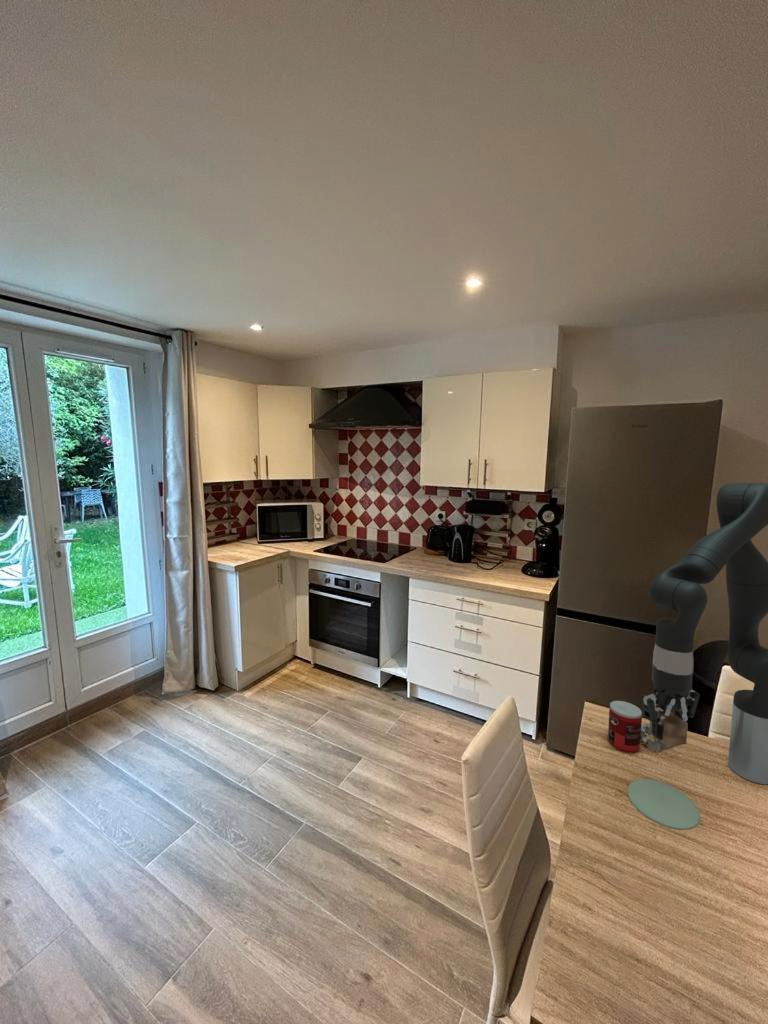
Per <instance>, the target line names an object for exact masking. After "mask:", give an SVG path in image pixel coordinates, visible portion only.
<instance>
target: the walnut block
mask: <svg viewBox="0 0 768 1024" xmlns="http://www.w3.org/2000/svg"><path fill="white" fill-rule="evenodd" d="M659 716H660V713H658V715H657V717H658V718H659ZM649 723H650V730H649V733H650V734H651V735H652V736H653V734H652V732H651V730H652V722H651V721H649ZM663 725H664V727H663V739H662V740H659V741H660V742H662V743H663V744H664V745H666V746H667V747H668V748H669V747H676V746H682V745H687V742H688V741H687V740H688V730H689V729H688V728H689V727H688V725H689V723H688V721H686V722H685V721H684V720H682V719H681V718H679V717H678V716H676V715H675V714H674V712H673V711H670V714H669V716H668V717H666V718H665V720H664V723H663ZM653 737H654V736H653ZM655 738H656V737H654V739H655ZM656 739H657V738H656Z"/></svg>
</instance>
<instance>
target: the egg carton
mask: <svg viewBox="0 0 768 1024" xmlns="http://www.w3.org/2000/svg"><path fill="white" fill-rule="evenodd" d="M649 730H650V722H648V723H645V724H641V739H640V743H645V744H646V745H645V744H644V745H645V746H647V750H648V751H650V750H651V751H650V752H656V751H657V753H659V751H660V752H661V750H662V749H665V750H667V749H668V748H669V747H667V746H666V745H664V744H663V743H662V742H660V741H659V740H658V739H656V738H655V737H654V740H653V739H650V738H646V734H648V735H647V736H649V735H651V734H650V733H649ZM645 733H646V734H645ZM660 747H662V748H660ZM652 750H654V751H652Z"/></svg>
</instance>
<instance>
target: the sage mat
mask: <svg viewBox="0 0 768 1024" xmlns="http://www.w3.org/2000/svg"><path fill="white" fill-rule="evenodd" d="M627 788H628V789H627V795H628V798H629V801H630V802H631V804H632V805H633V807H634V808H635V809H636V810H637V811H638V812H639V813H641V814H642V816H644V817H646V818H647V819H649V820H651V821H652V822H654V823H657V824H659V825H661V826H662V827H663V826H664V827H666V828H670V829H674V830H685V831H686V830H691V829H694V828H696V827H697V826H698V825H699V823H700V819H701V814H700V811H699V808H698V807H697V805H696V804H695V802H694V801H693V800H692V799H690V797H689V796H688V795H686V794H685V793H683V792H682V791H680V790H679V789H677V788H675V787H673V786H671V785H670V784H667V783H664V782H661V781H658V780H655V779H648V778H645V779H644V778H643V779H642V778H641V779H635V780H634V781H632V782H630V783H629V786H628V787H627Z"/></svg>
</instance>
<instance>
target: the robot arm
mask: <svg viewBox="0 0 768 1024" xmlns="http://www.w3.org/2000/svg"><path fill="white" fill-rule="evenodd" d="M715 503H716V512H717V518H718V522H719V527H720V528H718V529H716V530H714V531H712V532H710V533H708V534H707V535H704V536H703V537H702V538H700V539H698V540H697V541H696V542H695V543H694V544H693V545H692V546H691V547H690V548H689V550H688V551H687V553H686V554H685V555H684V556H683V557H682V559H681V560H679V561H678V562H676V563H675V564H673V565H672V566H670V567H669V568H667V569H665V570H664V571H662V572H661V573H659V574H658V575H657V576H656V577H655V578H654V579H653V581H651V583H650V585H649V591H648V594H649V595H648V596H649V598H650V600H651V601H652V603H654V604H655V605H656V606H659V607H662V608H666V609H669V610H671V611H675V612H678V616H677V618H676V617H662V618H659V619H658V620H657V622H656V627H655V641H654V642H655V643H654V648H653V653H652V654H653V655H652V667H651V682H652V683H653V690H652V691H651V694H648V695H646V694H641V696H640V700H641V706H642V707H641V708H642V715H643V718H645V719H646V720H648V721H649V722H650V721H651V722H652V730H651V732H652V734H653V738H655V737H656V738H657V739H658V740H662V739H663V727H664V725H663V723H664V720H665V718H666V717H668V716H669V714H670V712H672V713H673V714H675V715H676V716H678V717H679V718H681V719H682V720H684V721H685V722H688V719H689V718H690V719H691V718H692V719H693V718H695V714H696V710H697V707H698V705H699V701H700V696H701V694H700V693H699V692H697V691H695V690H693V675H694V664H695V663H694V661H695V659H694V644H695V643H694V642H695V634H696V630H697V627H698V625H699V622H700V619H701V617H702V615H703V613H704V611H705V609H706V606H707V604H708V594H707V592H706V590H705V588H704V587H703V586H702V585H707V584H710V583H711V582H712V581H714V579H715V578H716V577H717V576H718V575H719V573H720V572H721V571H722V569H723V568H724V567H725V579H726V582H725V583H726V593H727V599H728V620H729V624H728V625H729V628H728V629H729V631H728V632H729V633H728V644H727V645H728V647H727V648H728V649H727V656H728V657H727V659H728V665H729V667H730V668H731V670H732V671H733V672H734V673H735V674H737V675H739V677H742V678H743V679H746V680H747V681H749V682H751V683H753V688H752V689H739V690H736V691H735V692H734V694H733V701H732V710H731V711H732V714H731V725H730V735H729V749H728V757H727V765H728V767H729V768H730V770H731V771H733V773H735V774H736V775H738V776H740V777H741V778H743V779H745V780H748V781H750V782H753V783H756V784H761V785H768V648H767V647H764V646H761V644H760V639H759V627H760V623H761V621H762V620H763V619H764V618H765V617H766V616H767V614H768V560H767V559H766V558H765V557H764V555H763V554H762V553H761V552H760V550H759V549H758V548H757V547H756V546H755V544H754V543H753V541H752V539H753V538H754V537H755V536H756V535H758V533H760V532H761V531H762V530H764V528H766V527H767V526H768V482H729V483H724V484H723V485H722V486H720V488H719V489H718V491H717V495H716V502H715ZM688 707H689V709H688ZM658 713H660V716H659V718H658V717H657V715H658Z"/></svg>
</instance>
